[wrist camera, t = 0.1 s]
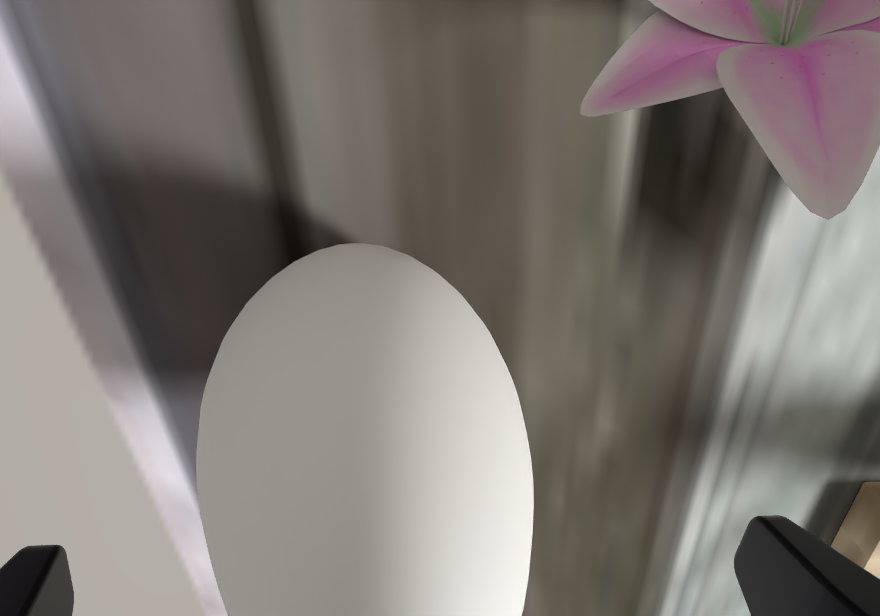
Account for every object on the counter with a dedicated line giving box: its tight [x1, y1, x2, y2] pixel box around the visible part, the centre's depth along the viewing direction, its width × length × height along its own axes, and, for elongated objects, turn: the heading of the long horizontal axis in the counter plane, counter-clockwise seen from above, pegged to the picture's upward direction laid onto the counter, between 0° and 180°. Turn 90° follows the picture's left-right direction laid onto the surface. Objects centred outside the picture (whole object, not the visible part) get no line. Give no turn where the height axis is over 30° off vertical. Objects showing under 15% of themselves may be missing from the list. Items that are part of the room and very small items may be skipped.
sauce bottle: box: [196, 243, 534, 616], centre depth 16 cm, size 8×8×18 cm
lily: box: [580, 0, 880, 220], centre depth 18 cm, size 11×11×9 cm
